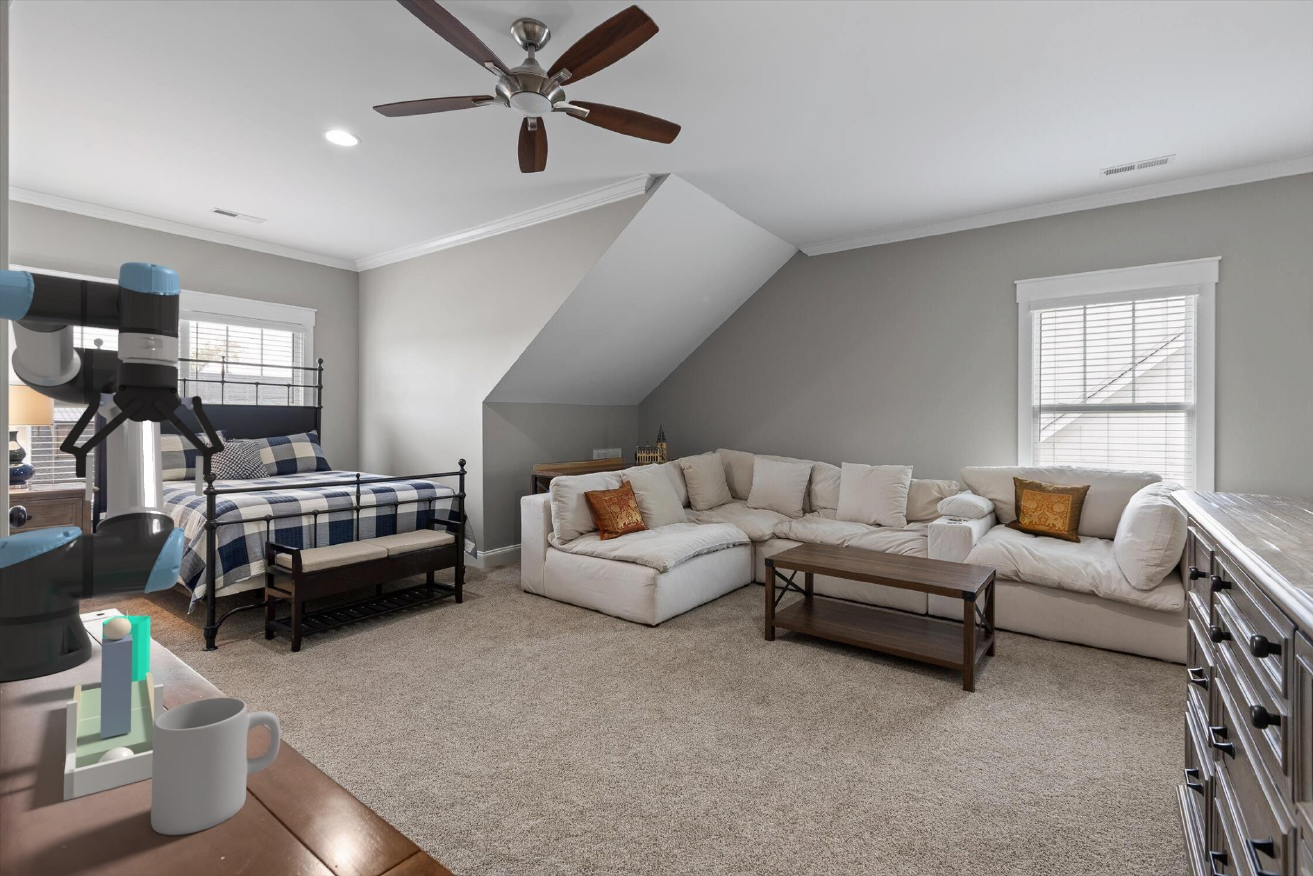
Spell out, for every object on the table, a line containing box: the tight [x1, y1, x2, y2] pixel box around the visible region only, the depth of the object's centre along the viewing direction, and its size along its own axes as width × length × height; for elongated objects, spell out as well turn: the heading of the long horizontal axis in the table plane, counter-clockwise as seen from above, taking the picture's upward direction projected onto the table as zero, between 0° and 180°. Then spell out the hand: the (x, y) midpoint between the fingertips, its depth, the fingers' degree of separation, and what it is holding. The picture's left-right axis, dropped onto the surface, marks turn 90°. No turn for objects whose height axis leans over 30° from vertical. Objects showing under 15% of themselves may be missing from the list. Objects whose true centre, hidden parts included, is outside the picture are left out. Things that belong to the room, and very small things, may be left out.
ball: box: [98, 747, 134, 763], centre depth 77 cm, size 4×4×4 cm
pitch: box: [72, 671, 155, 769], centre depth 89 cm, size 25×9×3 cm, turn 41°
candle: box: [101, 609, 151, 682], centre depth 104 cm, size 6×6×12 cm
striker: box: [100, 618, 132, 739], centre depth 83 cm, size 3×3×15 cm
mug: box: [150, 697, 281, 836], centre depth 72 cm, size 12×8×11 cm
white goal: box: [63, 683, 164, 802], centre depth 77 cm, size 6×9×9 cm
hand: (146, 497), depth 101 cm, fingers open, 13 cm apart
